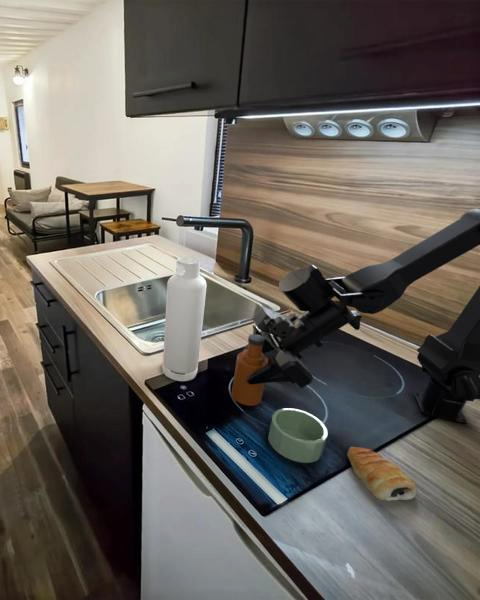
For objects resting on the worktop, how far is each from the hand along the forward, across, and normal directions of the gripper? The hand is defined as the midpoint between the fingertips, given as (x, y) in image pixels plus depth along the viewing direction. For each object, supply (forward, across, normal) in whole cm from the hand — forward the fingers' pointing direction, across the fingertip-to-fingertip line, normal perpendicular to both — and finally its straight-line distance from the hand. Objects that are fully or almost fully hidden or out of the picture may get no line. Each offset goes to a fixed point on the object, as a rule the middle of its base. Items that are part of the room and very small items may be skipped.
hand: (243, 370), depth 75 cm
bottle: (+13, -9, -3) cm, 16 cm away
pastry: (-7, +19, +17) cm, 26 cm away
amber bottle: (+4, 0, +6) cm, 7 cm away
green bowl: (0, +12, +10) cm, 16 cm away
